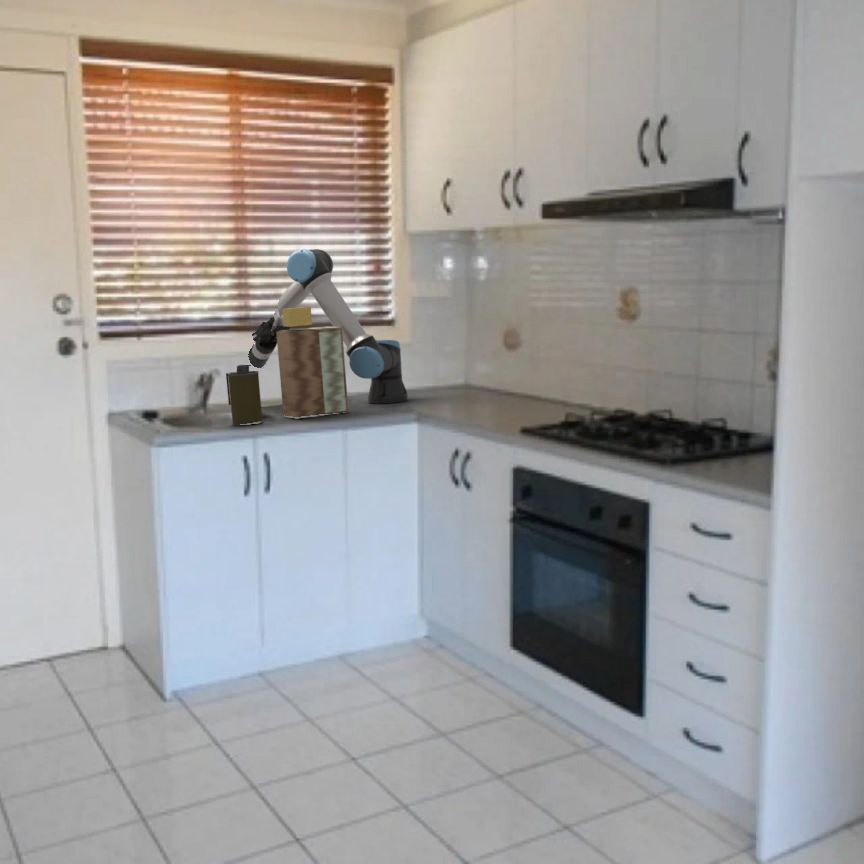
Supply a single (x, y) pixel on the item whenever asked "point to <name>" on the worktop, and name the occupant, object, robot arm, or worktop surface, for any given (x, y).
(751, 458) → the worktop surface
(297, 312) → the handle bar
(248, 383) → the canister
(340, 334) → the wood grain box
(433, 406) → the worktop surface
